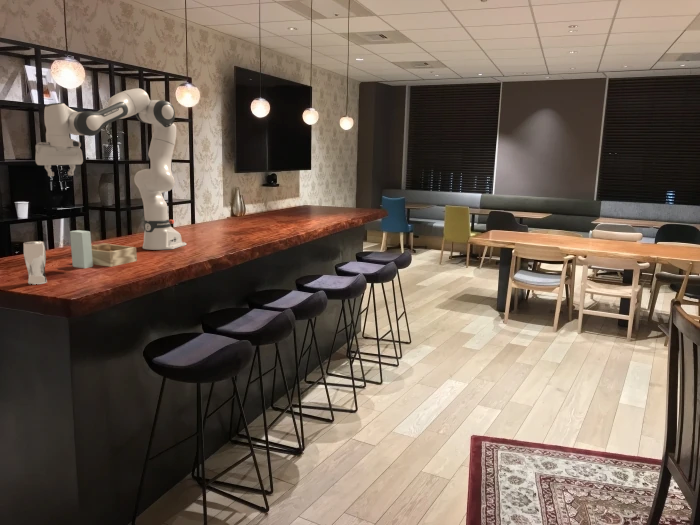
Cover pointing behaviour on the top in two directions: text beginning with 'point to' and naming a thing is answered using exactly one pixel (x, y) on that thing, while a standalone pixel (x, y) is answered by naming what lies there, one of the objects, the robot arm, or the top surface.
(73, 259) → the pale green block
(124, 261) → the tray
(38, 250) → the beer glass
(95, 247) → the offcut short
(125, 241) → the top surface
